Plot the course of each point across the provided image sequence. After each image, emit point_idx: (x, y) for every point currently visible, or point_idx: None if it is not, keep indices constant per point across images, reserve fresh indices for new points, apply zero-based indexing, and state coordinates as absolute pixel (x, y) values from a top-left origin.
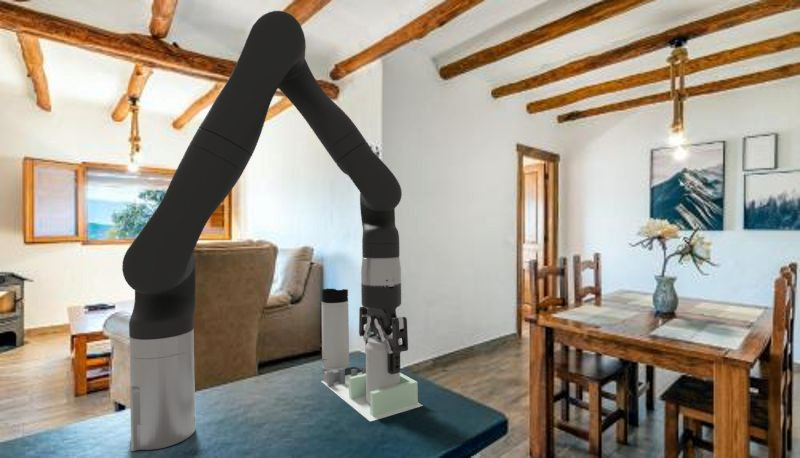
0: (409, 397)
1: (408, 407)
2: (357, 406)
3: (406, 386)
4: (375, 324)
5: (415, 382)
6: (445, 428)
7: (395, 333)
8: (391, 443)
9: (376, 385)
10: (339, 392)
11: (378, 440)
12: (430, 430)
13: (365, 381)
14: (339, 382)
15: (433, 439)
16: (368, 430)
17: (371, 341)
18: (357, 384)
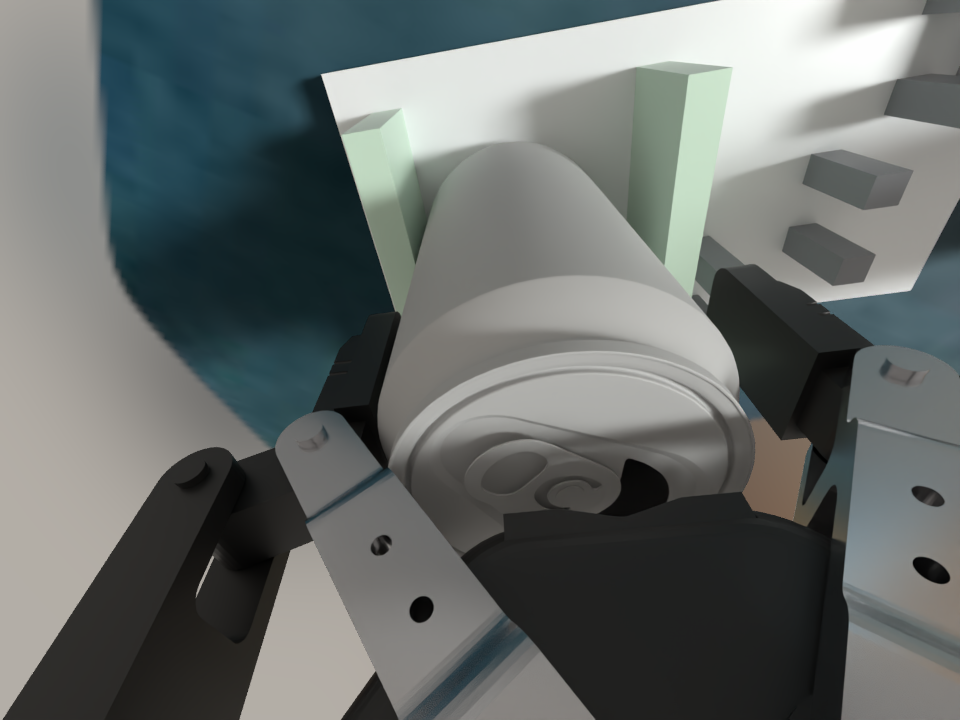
0: None
1: None
2: (529, 70)
3: None
4: (569, 713)
5: None
6: (271, 350)
7: (32, 696)
8: (172, 119)
9: (444, 205)
10: (790, 20)
11: (204, 67)
12: (265, 305)
13: (656, 193)
14: (922, 75)
15: (197, 286)
16: (315, 54)
17: (547, 377)
18: (661, 128)
